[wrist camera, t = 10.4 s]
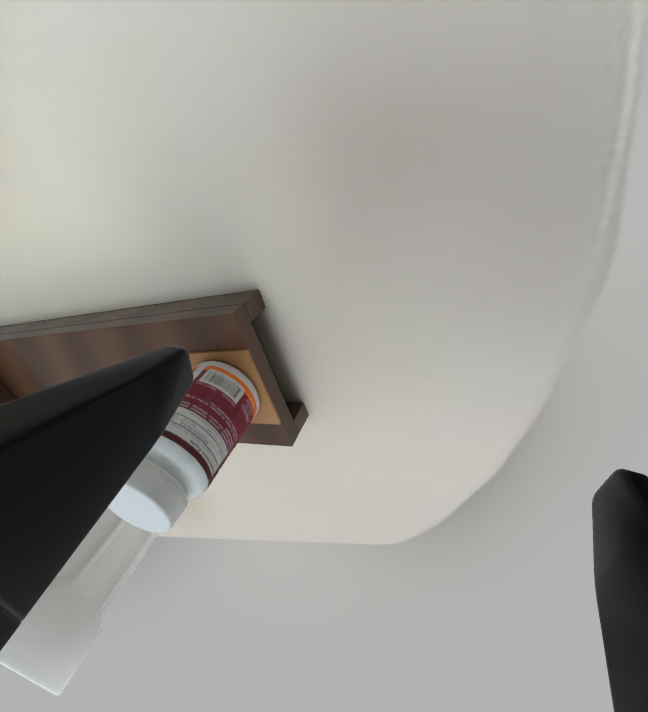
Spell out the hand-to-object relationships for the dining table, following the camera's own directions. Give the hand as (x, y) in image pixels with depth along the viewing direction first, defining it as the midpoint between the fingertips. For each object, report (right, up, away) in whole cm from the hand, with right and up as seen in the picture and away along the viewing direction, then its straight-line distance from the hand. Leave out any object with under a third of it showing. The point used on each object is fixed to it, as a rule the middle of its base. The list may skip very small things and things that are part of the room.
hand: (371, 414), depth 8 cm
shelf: (-17, 0, +23) cm, 28 cm away
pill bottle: (-7, -1, +15) cm, 17 cm away
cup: (-20, -12, +34) cm, 41 cm away
